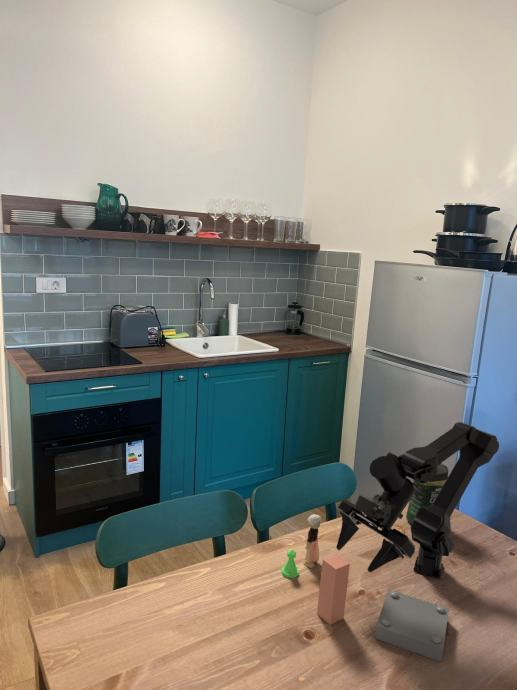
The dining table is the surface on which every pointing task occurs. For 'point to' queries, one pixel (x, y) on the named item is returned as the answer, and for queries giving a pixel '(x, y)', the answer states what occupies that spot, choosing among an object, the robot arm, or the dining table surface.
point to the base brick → (413, 624)
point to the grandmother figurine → (312, 541)
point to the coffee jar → (427, 492)
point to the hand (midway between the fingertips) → (352, 559)
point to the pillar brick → (333, 588)
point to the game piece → (290, 566)
